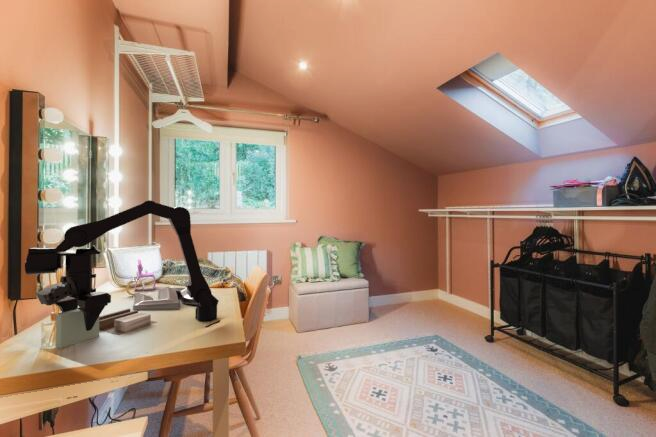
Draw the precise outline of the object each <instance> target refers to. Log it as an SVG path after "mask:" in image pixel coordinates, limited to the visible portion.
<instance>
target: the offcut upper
mask: <svg viewBox="0 0 656 437" xmlns="http://www.w3.org/2000/svg"><path fill="white" fill-rule="evenodd" d="M151 315H152V314H150V313H146V312H138V313H136V314H133V315H129V316H126V317H122V318H119V319H116V320H114V325H117V326H122V327H128V326H131V325H134V324H137V323H140V322H143V321H146V320H149V319H151Z"/></svg>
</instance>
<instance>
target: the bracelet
mask: <svg viewBox="0 0 656 437" xmlns="http://www.w3.org/2000/svg"><path fill="white" fill-rule="evenodd" d="M136 282H137V283H140V284H141V285H142V289H141V291H139V292H138V293H132V292H130V290H129V286H130V285H131V284H134V283H136ZM125 290H126V293H127V294H128V295H131V296H134V297H135V296H136V295H138V294H143V292H144V290H145V283H144V282H143V281H142V280H141V279H140V278H138V279H137V277H134V278H131V279H130V280H129V281H128V282H127V284H126V287H125Z"/></svg>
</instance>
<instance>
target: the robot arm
mask: <svg viewBox="0 0 656 437" xmlns="http://www.w3.org/2000/svg"><path fill="white" fill-rule="evenodd" d="M149 214H150V215H153V216H157V217H160V218H164V219H167V220H168V222H169V223H170V225H171V227H172V229H173V231H174V233H175V234H176V236H177V239H178V242H179V247H180V248H181V249H180V250H181V253H182V257H183V260H184V264H185V267H186V271H187V275H188V282H187V281H186V282H184V285H185V288H187V290H188V292H187V294H188V295H189V297H190V298H193V300H194V301H195V302H197V303H198V304H197V305H195V307H196V308H195V320H196V321H197V322H200V323H207V322H209V323H210V322H212V323H210V324H208V325H206V326H204V328H208V327H210V326H212V325H215V324H218V323H219V322H221V320H217V319H218V304H219V303H220V302H219V299H218V298H217V297H216V296H214V294H212V290H211V288H210V285H209V284H208V282H207V280H206V279H205V276H204V275H203V273H202V270H201V265H200V262H199V259H198V255H197V252H196V248H195V245H194V241H193V237H192V232H191V231H192V230H191V229H192V228H191V227H192V226H191V225H192V223H191V222H192V221H191V214H190V211H189V210H188V209H187V208H185V207H183V206H177V207H172V206H169V205H165V204H161V203H158V202H155V201H153V200H145V201H143V203H140V204H138V205H135V206H133V207H131V208H130V207H129V208H128V209H126V210H123V211H120V212H118V213H116V214H113V215H111V216H108V217H105V218H103V219H98V220H95V221H91V222H87V223H84V224H83V223H82V224H78V225H74V226H71V227H69V228H68V229H67V230H65V233H64V235H63V237H64V239H63V240H62V241H61V242H60V243H59V244H57V246H56V247H47V248H46V247H45V248H44V247H30V248H28V249H27V255H26V259H25V262H24V271H25V273H26V275H27V276H29V275H43V274H44V275H45V274H55V273H56V274H57V273H58V271H59V269H62V270H63V268H64V257H65V273H64V274H65V275H61V277H60V281H59V282H58V283H55V284H52V285H49V286H47V287H45V288H43V289H41V290H38V291H37V292H36V293H35V294H36V296H37V298H38V301H39V303H40V304H41V305H46V306H53V305H55V306H56V307H58V308H59V309H60V312H61V311H62V312H61V313H63V312H67V311H71V310H76V309H79V310H80V311H82V312H83V314H84V321H85V328H86V331H89V330H91V329H92V328H93V326H94V324H95V322H96V320H97V319H98V317H99V316H101V314H102V312H103V310H104V309H105V307H107V306H108V304H111V302H112V295H111V294H110V293H108V292H104V291H97V288H96V287H93V279H94V278H95V279H96V278H97V274H96V273H94V272H93V259H94V258H93V255H100V254H101V252H102V250H101V249H99V248H97V247H96V245H94V244H93V245H92V246H91V247H87V248H86V247H85V246H86V245H88V244H90V243H92V242H94V241H95V240H97V239H98V238H100V237H101V236H103V235H105V234H106V233H108V232H109V231H112V230H114V229H117V228H119V227H121V226H124V225H127V224H129V223H130V222H134V221H135V220H138V219H140V218H142V217H143V218H144V217H145V216H147V215H149ZM83 247H85V248H83ZM72 248H76V250H75V251H73V252H67V251H69V250H71V249H72ZM215 320H217V321H215ZM213 321H215V322H213Z"/></svg>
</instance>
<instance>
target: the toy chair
mask: <svg viewBox="0 0 656 437" xmlns="http://www.w3.org/2000/svg"><path fill="white" fill-rule="evenodd" d="M137 263H138V264H137V274H138V276H137V277H136V278H137V279H138V278H139V279H140V278H150V277H151V278H153V280H154V283H153V286H152V289H153V290H155V287H156V275H155V274H154V272H149V273H148V272H147V273H142V271H143V269H144V266H143V265H142V261H141V259H139V258H138V259H137ZM137 284H138V281H137V282H135V286H134V289H133V293H134V292H136V289H137Z"/></svg>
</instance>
